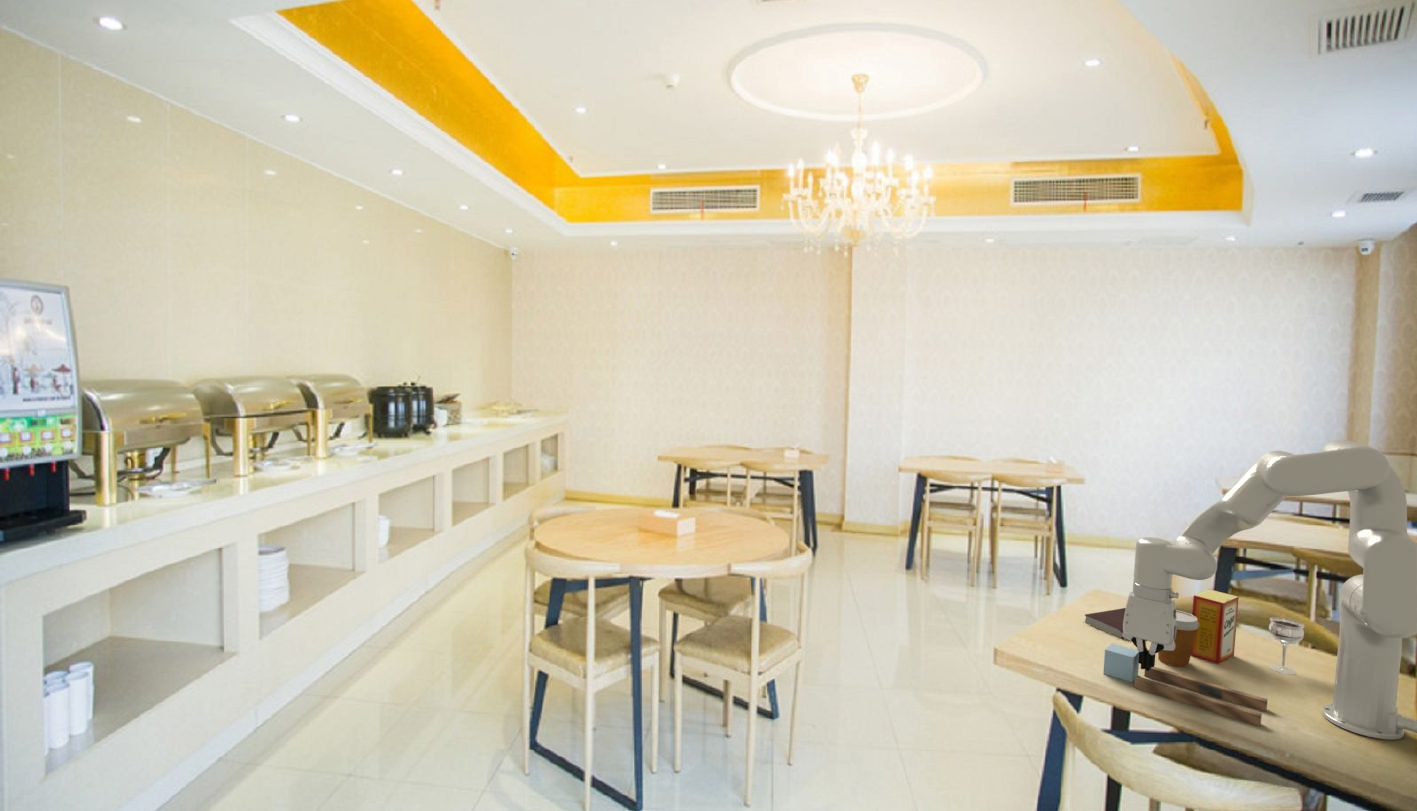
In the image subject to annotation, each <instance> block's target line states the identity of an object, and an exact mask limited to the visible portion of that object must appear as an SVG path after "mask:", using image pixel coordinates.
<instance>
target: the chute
mask: <svg viewBox="0 0 1417 811" xmlns="http://www.w3.org/2000/svg"><path fill="white" fill-rule="evenodd" d="M1143 676H1144V677H1141V676H1139V675H1138V676H1136V678H1135V679H1134V686H1133V687H1134V688H1135V689H1138V690H1140V691H1145V692H1147V693H1151V694H1153V695H1158V696H1160V697H1164V698H1167V699H1171V700H1172V701H1173V700H1174V701H1177V702H1180V703H1183V704H1186V705H1190V706H1192V707H1195V708H1199V709H1203V710H1206V711H1209V712H1211V713H1214V714H1215V713H1216V714H1218V715H1222V716H1225V717H1229V718H1232V719H1235V720H1238V721H1242V722H1244V723H1248V724H1250V725H1253V726H1254V725H1255V726H1257V727H1260V726H1261V724H1262V715H1263V714H1262V713H1261V712H1258V711H1254V710H1252V709H1256V710H1260V711H1263V712H1266V711H1267V709H1268V701H1269V700H1268V698H1265V697H1261V696H1257V695H1254V694H1251V693H1247V692H1244V691H1240V690H1238V689H1234V688H1229V687H1226V686H1222V685H1219V684H1215V683H1212V682H1209V681H1204V680H1202V679H1198V678H1195V677H1191V676H1188V675H1186V674H1185V675H1184V674H1181V673H1177V672H1174V671H1170V670H1167V669H1163V668H1160V667H1156V666H1154V667H1151V669H1150V670H1149V671H1147V670H1145V669H1144V673H1143ZM1145 677H1148V678H1152V679H1155V681H1154V680H1151V679H1147V678H1145ZM1156 680H1158V681H1161V682H1165V683H1169V684H1171V685H1175V686H1179V687H1182V688H1184V689H1187V690H1184V689H1181V688H1177V687H1175V686H1170V685H1168V684H1164V683H1161V682H1158V681H1156ZM1188 690H1191V691H1195V692H1198V693H1200V694H1198V693H1195V692H1191V691H1188ZM1204 695H1206V696H1204ZM1208 696H1209V697H1208ZM1211 697H1213V698H1211ZM1214 698H1215V699H1214ZM1218 699H1222V700H1226V701H1229V702H1233V703H1236V704H1239V705H1243V706H1246V707H1249V708H1252V709H1248V708H1245V707H1242V706H1237V705H1234V704H1231V703H1228V702H1225V701H1221V700H1218Z"/></svg>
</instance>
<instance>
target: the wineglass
mask: <svg viewBox="0 0 1417 811" xmlns="http://www.w3.org/2000/svg"><path fill="white" fill-rule="evenodd" d="M1269 621H1270V623H1269V625H1268V631H1269V634H1270V635H1271V637H1273V638H1274V639H1275V640H1276V641H1278V642H1279V643H1280V644H1281V645H1282V657H1281V658H1282V659H1281V665H1277V664H1276V665H1275V664H1272V665H1270V666H1269V668H1270V669H1271V670H1273V671H1275V672H1278V673H1280V674H1283V675H1284V674H1285V675H1296V674H1297V673H1296V671H1295V670H1294V669H1291V668H1289V667H1287V666H1285V663H1286V655H1287V650H1288V649H1287V648H1288V646H1289V645H1292V644H1293V645H1294V644H1297V643H1299V642H1301V641H1302V640H1303V639H1304V636H1305V632H1304V628H1305V624H1304V623H1302V622H1299V621H1297V620H1294V619H1290V618H1285V617H1279V616H1276V617H1270V618H1269Z"/></svg>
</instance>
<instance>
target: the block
mask: <svg viewBox="0 0 1417 811" xmlns="http://www.w3.org/2000/svg"><path fill="white" fill-rule="evenodd" d="M1138 661H1139V651H1138V650H1137V649H1135V648H1132V647H1128V646H1124V645H1119V644H1117V643H1110V644H1109V645H1108V646H1107V647H1106V648H1105V649H1104V660H1103V662H1104V663H1103V672H1102V673H1103V675H1106V676H1109V677H1113V678H1115V679H1120V680H1122V681H1124V682H1128V683H1129V682H1130V683H1133V682H1134V681H1135V678H1136V676H1138V677H1139V670H1140V669H1139V666H1140V663H1138Z"/></svg>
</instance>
